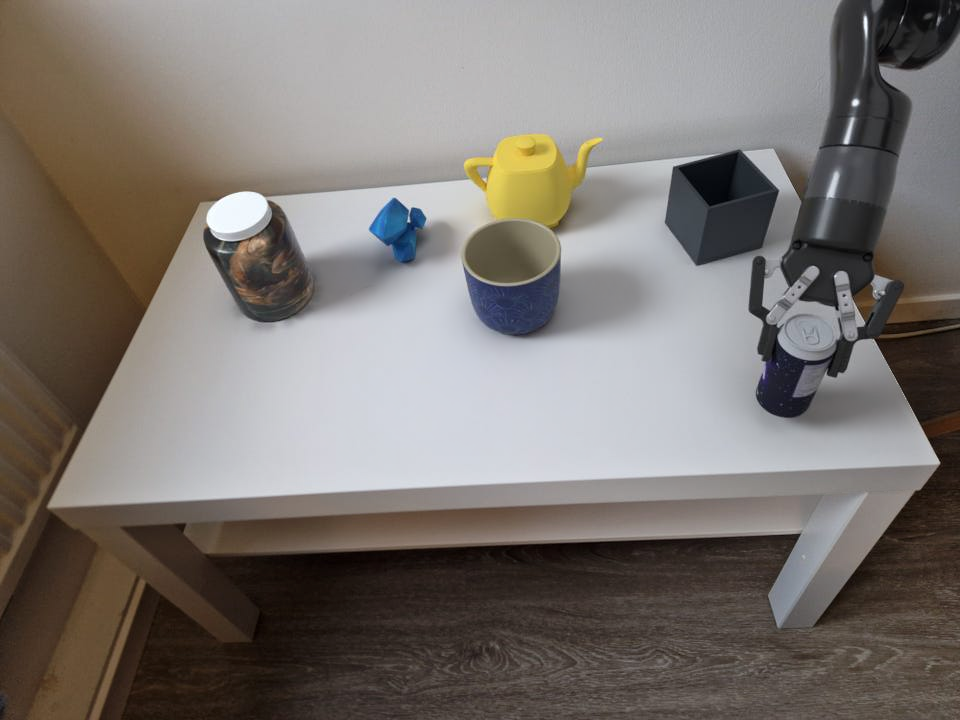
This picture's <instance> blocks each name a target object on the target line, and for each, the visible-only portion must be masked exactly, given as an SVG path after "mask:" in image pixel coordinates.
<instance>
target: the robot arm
mask: <svg viewBox="0 0 960 720" xmlns="http://www.w3.org/2000/svg"><path fill="white" fill-rule="evenodd" d="M959 37H960V0H840V1H839V3H838V5H837V7H836V8H835V12H834V14H833V16H832V19H831V25H830V29H829V37H828V38H829V41H828V42H829V43H828V44H829V45H828V46H829V47H828V48H829V49H828V53H829V54H828V55H829V58H828V59H829V104H828V105H829V106H828V111H827V112H828V113H827V116H826V120H825V124H824V127H823V131H822V136H821V138H820V142H819V146H818V150H817V153H816V156H815V158H814V161H813V162H812V166H811V168H810V170H809V174H808V176H807V180H806V183H805V186H804V187H803V190H802V198H801V202H800V206H799V210H798V213H797V217H796V222H795V225H794V229H793V232H792V236H791V240H790V243H789V246H788V249H787V251H786V252H785V253H784V254H783V255H782V256H781V257H764V256H763V255H756V256H755V257H754V258H753V259H752V261H751V271H750V283H749V285H750V286H749V295H748V296H749V297H748V308H747V309H748V312H749V313H750V314H751V315H753V316H754V317H756V318H758V319H760V321H761V323H762V328H761V331H760V335H759V339H758V343H757V346H756V352H757V355H760V356H761V359H760V360H761V362H763V363H766V362H768V363H769V361H770V358H771V354H772V351H773V347H774V343H775V340H776V336H777V332H778V329H779V327H780V326H778V323H779V322H780V321H781V319H782V318H783V317H784V316H785V315H786V314H787V313H788V311H789V310H791V308H792V307H793V306H794V305H795V303H796V302H797V301H800V302H805V303H813V302H815V303H818V304H820V305H822V306H826V307H831V308H833V309H834V314H835V318H836V321H837V326H838V331H839V337H838V338H837V339H836V340H837V349H836V352H835V354H834V356H833V358H832V360H831V362H830V364H829V366H828V369H827V371H826V376H827V377H831V378H834V379H836V378H837V377H838V375H839V373H840V374H844V373H845V372H846V371H847V370H848V367H849V363H850V360H851V356H852V353H853V349H854V346H855V344H856V343H857V342H859V341H863V340H865V341H866V340H876V339H878V338H879V337H880V336H881V334H882V332H883V330H884V328H885V326H886V324H887V322H888V321H889V318H890V316H891V315H892V313H893V310H894V308H895V307H896V305H897V303H898V301H899V300H900V299H899V298H900V297H901V295H902V293H903V291H904V288H905V284H904V282H903V281H901V280H899V279H890V278H887V277H884V276H881V275H878V274H876V272H875V269H874V258H875V254H876V251H877V247H878V244H879V241H880V240H879V239H880V236H881V233H882V231H883V230H882V229H883V226H884V223H885V219H886V216H887V213H888V209H889V207H890V202H891V199H892V195H893V192H894V188H895V184H896V180H897V172H898V165H899V160H900V157H901V153H902V150H903V147H904V142H905V140H906V135H907V132H908V129H909V125H910V122H911V119H912V114H913V109H914V105H913V103H914V102H913V99H912V98H911V97H910V96H909V95H908V94H907V93H906V92H904V91H903V90H901V89H899V88H897V87H896V86H894V85H892V84H891V83H889V82H888V81H887V80H886V79H885V78H884V77H883V75H882V73H881V68H880V67H883V68H886V69H887V68H888V69H892V70H895V71H900V72H917V71H921V70H923V69H925V68H928V67H930V66H931V65H933V64H935V63H937V62H938V61H940V60H941V59H942V58H943V57H945V55H946V54H948V52H949V51H950V50H951V48H953V46H954V44H955V43H956V41H957V40H958V38H959ZM777 268H779V269H780V271H781V273H782V276H783V277H784V279H785V282H786V285H787V287H788V288H787V289H786V290H785V291H784V292H783V293H782V295H781V296H780V297H779V298H778V300H776V302H775V303H774V305H773V306H772V307H771V308H770V309H769V308H766V307H765V306H764V305H763V299H764V290H765V289H764V288H765V279H770V278H771V277H772V276H773V274H774V271H775V270H777ZM869 285H871V286H872V297H873V298H874V299H875V300H876V301H875V303H874V305H873V306H872V309H871V311H870V313H869V315H868V317H867V319H866V321H865V322H864V325H862V326H857V320H856V311H855V305H854V301H853V297H856V295H857V294H858V293H860V292H861V291H862V290H864V289H865V288H867V286H869Z"/></svg>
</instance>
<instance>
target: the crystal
mask: <svg viewBox="0 0 960 720" xmlns="http://www.w3.org/2000/svg"><path fill="white" fill-rule="evenodd" d="M426 222H427V216H426V215H425V214H424V212H423V211H422V209H421V208H418V207H414V206H412V207H411V208H410V209H409V208H408V207H406V206H405V204H404V203H402V202H401V201H400V200H399V199H398V198H397V197H391V199H390V200H389V201H388V202H387V203H386V204H385V205H384V206H383V207H382V208H381V209H380V210H379V212H378V213H377V215H376V216H375V218H374V219H373V221H372V223H371V224H370V226H369V228H368V231H369V232H370V233H371V234H372V235H373V236H375V237H376V239H378V240H379V241H380V242H381V243H383V245H385V246H386V247H390V246H391V249H392V253H393V256H394V259H395V260H396V261H398V262H400V263H403V262H407V261H411V260H414V259H415V258H416V252H417V241H418V240H417V239H418V232H417V229H420V230H423V229H424V227H425V225H426Z"/></svg>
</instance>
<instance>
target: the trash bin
mask: <svg viewBox="0 0 960 720" xmlns="http://www.w3.org/2000/svg"><path fill="white" fill-rule="evenodd" d="M668 191H669V192H668V197H667V203H666V204H667V205H666V212H665V219H664V224H665V225H666V227H667V228H668V229H669V231H670V232H671V233H672V235H673V236H674V237H675V239H676V240H677V241H678V243H679V244H680V245H681V247H682V249H683V250H684V251H685V252H686V253H687V255H688V256H689V258H690V259H691V261H692V262H693V263H694V265H695V266H700V265H704V264H708V263H712V262H714V261H718V260H722V259H726V258H729V257H733V256H737V255H739V254H740V255H741V254H743V253H747V252H751V251H755V250H758V249H762V248H763V246H764V242H765V240H766V237H767V233H768V229H769V226H770V223H771V219H772V216H773V213H774V209H775V207H776V203H777V200H778V197H779V193H780V189H779V188H778V187H777V186H776V185H775V184H774V183H773V182H772V180H770V179H769V178H768V176H766V175H765V174H764V173H763V171H761V169H760V168H759V167H758V166H757V165H756V164H755V163H754V162H753V161H752V160H751V159H750V158H749V157H748V156H747V155H746V154H745V153H744V151H742V150H741V149H736V150H731V151H727V152H723V153H720V154H715V155H712V156H708V157H705V158H701V159H697V160H694V161H690V162H685V163H681V164H677V165H674V166H672V171H671V177H670V184H669V190H668Z"/></svg>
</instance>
